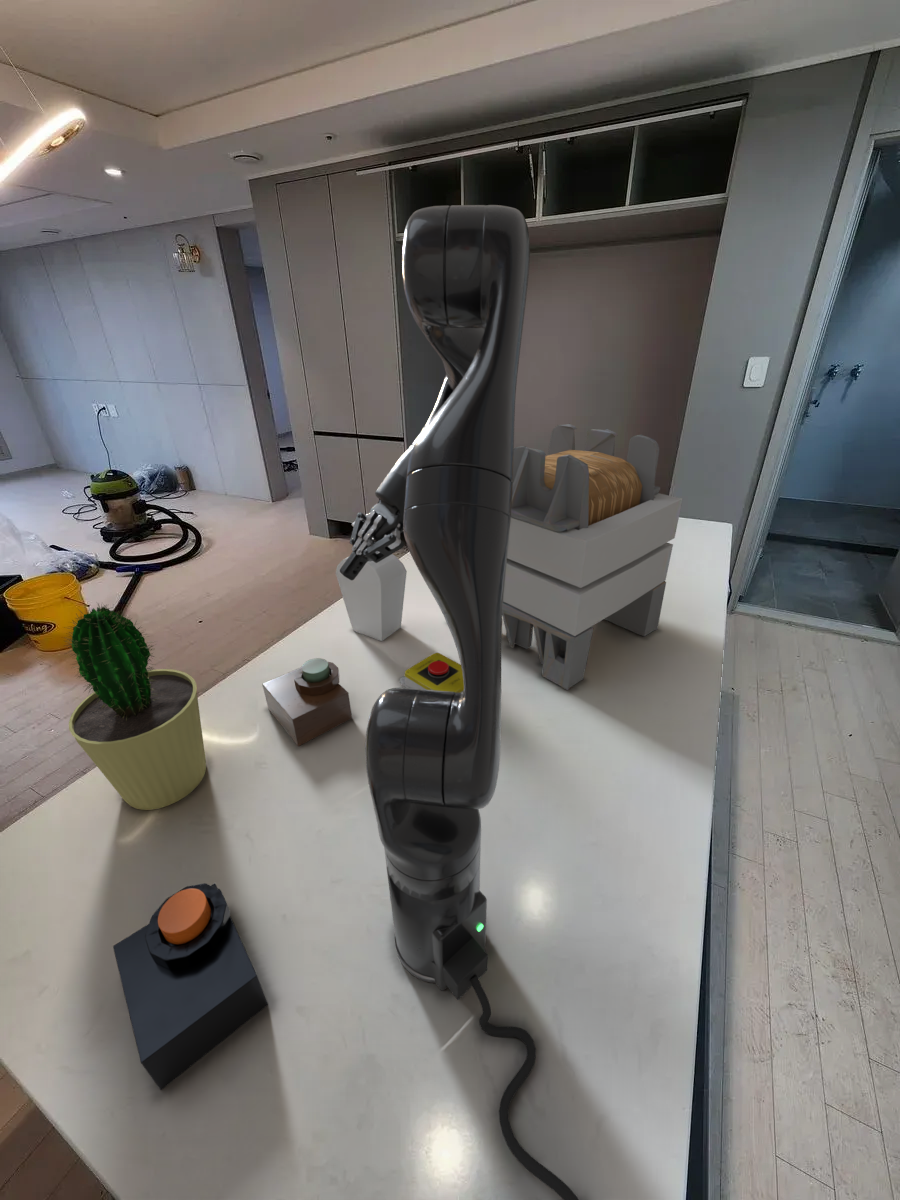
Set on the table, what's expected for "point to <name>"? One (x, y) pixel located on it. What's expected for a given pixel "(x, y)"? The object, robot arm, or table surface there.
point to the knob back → (315, 670)
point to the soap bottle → (375, 596)
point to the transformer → (585, 546)
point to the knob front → (184, 916)
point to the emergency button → (435, 675)
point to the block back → (307, 704)
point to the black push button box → (187, 990)
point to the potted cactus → (135, 714)
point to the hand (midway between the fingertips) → (345, 576)
